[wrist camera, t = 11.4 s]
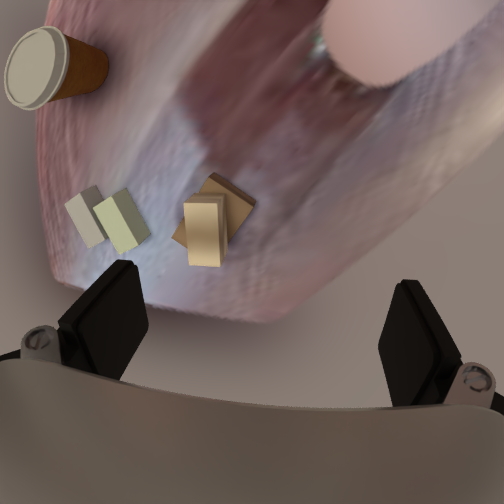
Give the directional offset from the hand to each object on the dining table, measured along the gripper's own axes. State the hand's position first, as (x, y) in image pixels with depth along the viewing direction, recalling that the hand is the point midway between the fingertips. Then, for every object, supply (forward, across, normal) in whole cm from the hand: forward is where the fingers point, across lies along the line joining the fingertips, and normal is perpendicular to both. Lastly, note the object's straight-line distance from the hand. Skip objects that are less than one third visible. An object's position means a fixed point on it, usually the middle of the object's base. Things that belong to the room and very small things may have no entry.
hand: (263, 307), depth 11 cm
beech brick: (+24, +8, +6) cm, 26 cm away
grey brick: (+26, +25, +6) cm, 37 cm away
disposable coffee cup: (+26, +25, -14) cm, 39 cm away
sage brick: (+26, +20, +6) cm, 34 cm away
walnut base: (+27, +8, +6) cm, 29 cm away
